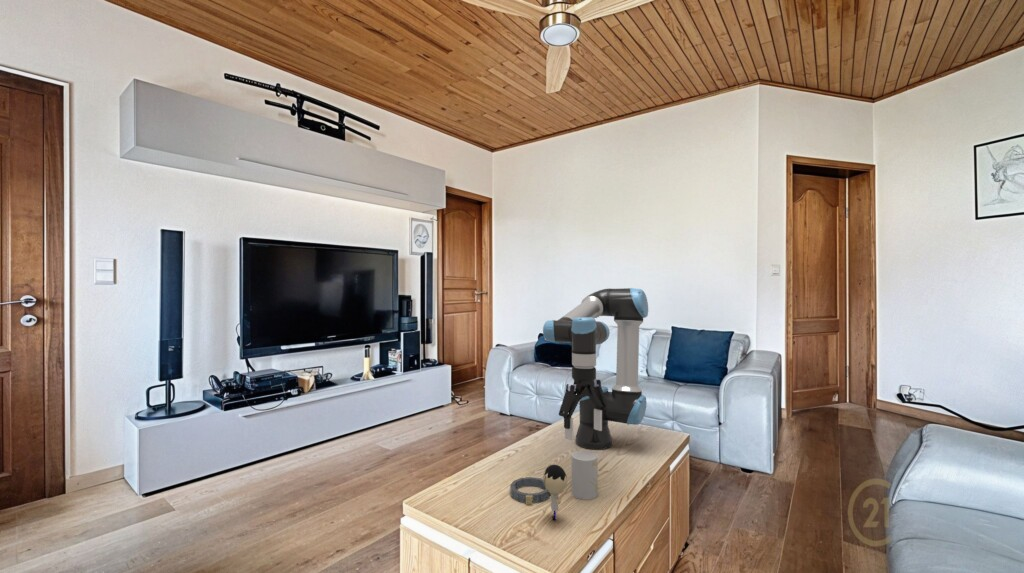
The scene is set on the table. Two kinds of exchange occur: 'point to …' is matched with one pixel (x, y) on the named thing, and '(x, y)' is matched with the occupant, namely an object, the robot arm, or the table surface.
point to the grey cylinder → (584, 475)
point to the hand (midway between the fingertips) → (583, 434)
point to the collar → (527, 497)
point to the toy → (555, 485)
